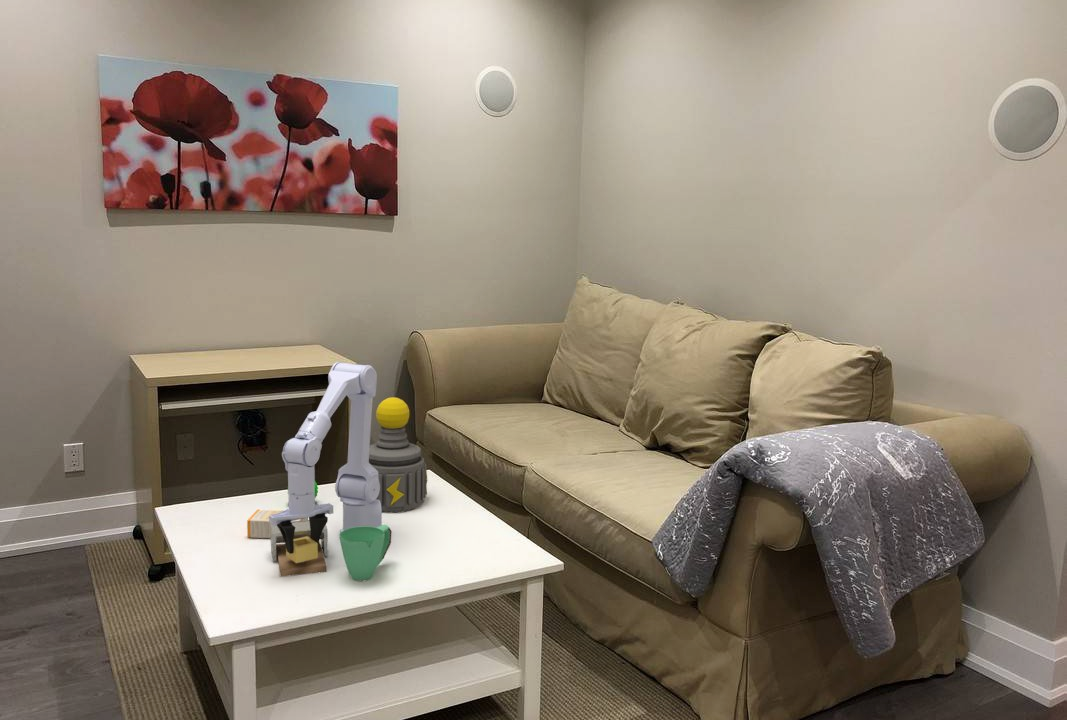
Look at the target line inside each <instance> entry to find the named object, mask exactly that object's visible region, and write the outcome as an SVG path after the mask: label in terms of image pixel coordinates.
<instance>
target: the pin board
mask: <svg viewBox="0 0 1067 720" xmlns="http://www.w3.org/2000/svg"><path fill="white" fill-rule="evenodd" d="M276 559H277V563H278V568H279V575H280V577H289V575H290V576H298V575H301V576H302V575H309V574H310V573H311V574H320V573H327V562H326V560H325V556H324V554H323V551H322V547H321V541H319V543H318V558H315V559H311V560H307V561H303V562H299V563H295V562H294V561H292V560H291V559H290V558H288V557H287V556H286V545H285V543H276ZM319 572H320V573H319Z"/></svg>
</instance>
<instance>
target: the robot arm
mask: <svg viewBox="0 0 1067 720" xmlns="http://www.w3.org/2000/svg"><path fill="white" fill-rule="evenodd" d="M327 375H328V376H327V379H328V386H327V388H326V390H325V392H324V394H323V396H322V398H321V400H320V403H319V405H318V407H317V409H316V411H311V412H309V413H308V414H307V417H306V418H305V420H304V421H303V423H302V424H301V426H300V427H299V429H298V432H297V433H296V434H295V436H294V437H292V438H290V439H289V440H287V441H286V442H285V443H284V446H283V448H282V452H281V457H282V461H283V462H284V466H285V471H286V472H287V482H288V483H287V485H288V486H287V496H288V509H285V510H284V511H282V512H279V513H276V514H273V515H269V524H271V525H272V526H275V525H277V527H278V528H279V530H280V532H281V534H282V536H283V539H284V542H285V545H286V550H287V552H289V553H290V554H292V553H293V552H294V532H295V527H294V526H293V525H292V523H291V521H294V520H299V519H304V518H308V520H309V522H310V530H311V539H312V540H314V541H315V542H316V543H319V542H320V540H321V539H320V536H321V533H322V531H323V529H324V527H325V525H326V526H327V524H328V518H329V517H328V516H326V514H327V515H328V514H329V515H333V514H334V505H332V504H331V503H330V502H329V503H319V504H316V498H315V482H316V480H315V479H316V475H315V471H316V470H315V464H317V462H318V461H319V459H320V455H321V451H322V446H323V444H322V443H323V440H324V439H325V438H326V436H327V434H328V432H329V431H330V429H331V427H332V422H331V418H332V416H333V414H334V413H335V412H336V410H338V407H340V405H341V403H342V402H343V401H344V400H345V398H346V396H347V398H348V399H349V400H350V413H349V415H350V416H349V429H348V430H349V431H348V433H349V434H348V436H349V437H348V444H347V445H348V448H347V463H345V464H344V465H342V466H340V468H339V469H338V473H337V479H336V480H335V484H334V485H335V486H334V488H335V489H334V490H335V491H334V492H335V493H336V496H337V497H338V498H340V499H339V501H340V502H341V503H342V528H339V534H340V533H341V532H342V531H344V530H346V529H348V528H352V527H360V526H370V527H376V528H378V527H379V526H381V525H383V524H382V523H383V522H382V519H383V518H382V513H383V512H382V510H381V503H380V500H375V499H376V498H377V497H378V495H379V491H380V483H379V479H378V471H377V470H376V469H375V468H374V467H373V466H372V465H371V464H370V463H369V449H370V445H371V444H370V443H371V431H372V430H371V429H372V428H371V427H372V416H373V415H372V413H373V412H372V411H373V410H372V409H373V398H375V397H376V394H377V381H378V379H377V377H378V374H377V372H376V370H375V369H374V367H373V366H372V365H370V364H366V365H365V364H364V365H363V364H357V363H356V364H354V363H345V362H341V361H337V362H335V363H334V364H333V365H332V366H331V368H330V370H329V373H328V374H327Z"/></svg>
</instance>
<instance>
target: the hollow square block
mask: <svg viewBox="0 0 1067 720" xmlns="http://www.w3.org/2000/svg"><path fill="white" fill-rule="evenodd" d="M286 556H287V557H288V558H290V559H291V560H292V561H294V562H295V563H299V562H303V561H307V560H311V559H315V558H318V543H316V542H315V541H314V540H312V539H311V538H309V537H308V536H306V537H302V538H298V539H294V552H293V553H292V554H290V553H289V552H287V550H286Z"/></svg>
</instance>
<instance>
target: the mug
mask: <svg viewBox="0 0 1067 720" xmlns="http://www.w3.org/2000/svg"><path fill="white" fill-rule="evenodd" d="M392 532H393V531H392V529H391V528H390V526H389V525H387V524H382V525H381V526H379V527H378V528H376V527H370V526H360V527H352V528H348V529H346V530H344V531H342V532H341V533H340V532H339V535H338V536H339V538H338V539H339V542H340V546H341V547H340V548H341V551H342V555H343V560H344V563H345V566H346V568H347V571H348V573H349V576H350V579H352V580H353V579H354V580H353V581H356V580H361V581H360V582H364V581H363V580H366V581H370V580H371V579H372V577H373V578H374V575H375V573H376V570H377V568H378V566H379V564H381V562H382V561H383V560H384V559H385V556H386V554H387V552H388V551H389V548H390V545H391V543H392Z"/></svg>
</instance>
